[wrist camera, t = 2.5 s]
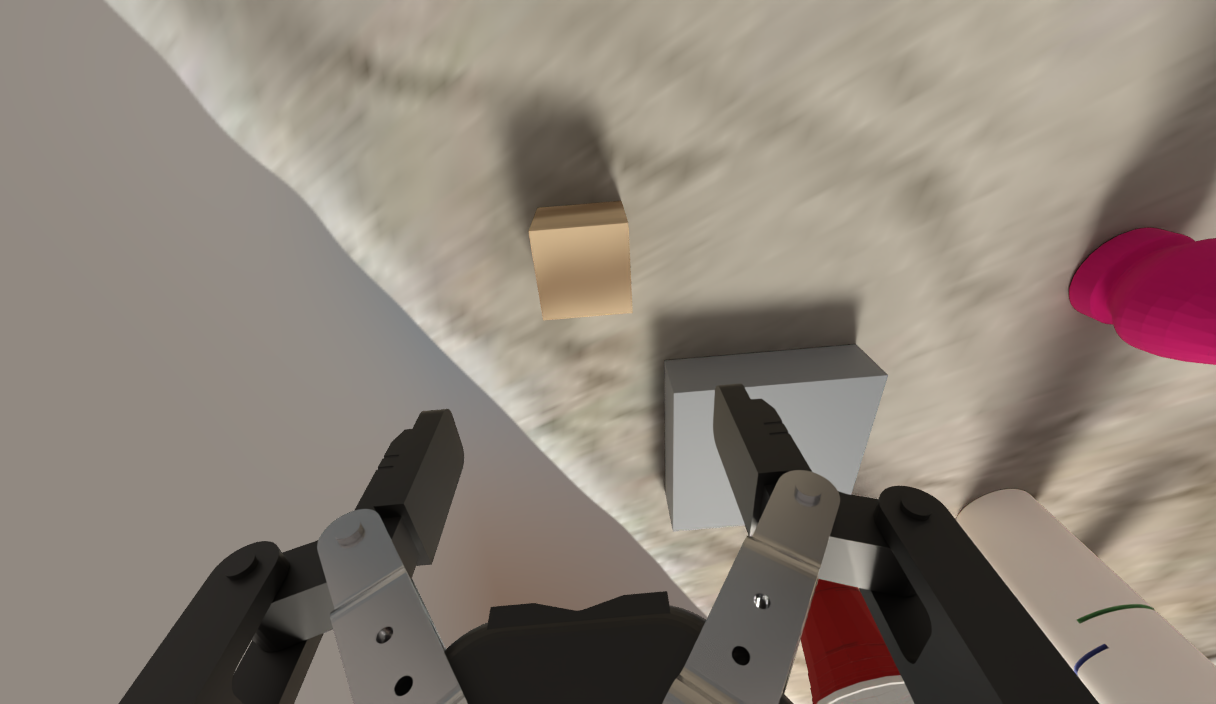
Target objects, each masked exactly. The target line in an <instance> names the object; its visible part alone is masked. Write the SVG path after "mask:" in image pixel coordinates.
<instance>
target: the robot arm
mask: <svg viewBox="0 0 1216 704" xmlns="http://www.w3.org/2000/svg"><path fill="white" fill-rule="evenodd" d="M713 434H714V440H715V444H716V447H717V450H718V453H719V456H720V458H721V461H722V464H723V466H724V469H725V472H726V475H727V477H728V480H729V483H730V486H731V488H732V491H733V494H734V496H735V499H736V502H737V505H738V507H739V510H740V513H741V516H742V518H743V521H744V524H745V526H746V529H747V532H748V535H749V536H747V537H746V539H745V540H744V542H743V544H742V546H741V548H740V550H739V553H738V555H737V557H736V559H735V561H734V563H733V565H732V567H731V569H730V571H729V574H728V576H727V578H726V580H725V582H724V584H723V586H722V588H721V590H720V593H719V595H718V597H717V599H716V601H715V603H714V605H713V607H712V609H711V611H710V614H709V616H708V618H707V620H706V619H704V618H702V617H701V616H699V615H697V614H695V613H693V612H690V611H688V610H685V609H682V608H679V607H674V606H670V605H669V601H668V595H667V592H666V591H665V592H654V593H643V594H633V595H632V594H631V595H623V596H620V597H617V598H615V599H612V600H609V601H606V602H603V603H601V604H598V605H595V606H593V607H590V608H587V609H584V610H580V611H574V610H568V609H563V608H557V607H552V606H546V605H541V604H536V603H531V604H520V605H508V606H497V607H491V609H490V615H489V620H488V623H485V624H483V625H481V626H479V627H477V628H475V629H473V630H471V631H469V632H468V633H466V634H465V635H463V636H462V637H460V638H459V639H458V640H456V641H455V642H454V643H453V644H451V646H449V647H448V648H447V649H446V648H445V646H444V644H443V642H442V640H441V638H440V636H439V634H438V632H437V630H436V627H435V626H434V623H433V621H432V620H431V617H430V615H429V613H428V611H427V609H426V607H425V605H424V602H423V601H422V598H421V596H420V594H419V592H418V590H417V588H416V586H415V584H414V582H413V580H412V575H413V573H414V570H415V567H416V566H419V565H430V564H432V562H433V559H434V556H435V552H436V550H437V547H438V544H439V540H440V537H441V534H442V531H443V528H444V525H445V522H446V519H447V515H448V512H449V509H450V506H451V503H452V499H453V497H454V494H455V490H456V487H457V484H458V481H459V478H460V475H461V471H462V469H463V464H464V451H463V446H462V443H461V440H460V437H459V434H458V431H457V428H456V425H455V422H454V419H453V416H452V413H451V411H450V410H449V409H442V410H431V411H422V412H421V413H420V415H419V417H418V419H417V421H416V423H415V425H414V427H413V429H407V430H404V431H403V432H402V433H401V434H400V435H399V436H398V437H397V438H396V439H395V440H393V441H392V443H391V444H390V446H389V448H388V450H387V452H386V453H385V455H384V459H382V461H381V463H380V464H379V466H378V470H376V472H375V474H374V475H373V477H372V479H371V481H370V483H369V485H368V486H367V488H366V490H365V492H364V494H363V496H362V498H361V499H360V501H359V503H358V505H357V507H356V509H355V510H354V511H352V512H349V513H347V514H345V515H343V516H341V517H339V518H338V519H336V520H335V521H333V522H332V523H331V524H330V525H329V526H328V527H327V528H326V529H325V530H324V532H323V533H322V534H321V536H320V538H319V540H317V541H315V542H312V543H309V544H306V545H303V546H300V547H297V548H295V549H292V550H289V551H286V552H283V553H282V552H281V551H280V549H279V548H278V547H277V545H276V544H274V543H273V542H268V541H262V542H256V543H253V544H250V545H247V546H245V547H243V548H241V549H239V550H237V551H235V552H234V553H232V554H231V555H229V556H228V557H227V558H225V559H224V560H223V561H222V562H221V563H220V564H219V565H218V566H217V567H216V568H215V569H214V570H213V571H212V573H211V574H210V576H209V577H208V578H207V580H206V581H205V582H204V584H203V585H202V587H201V588H200V590H199V591H198V592H197V594H196V595H195V597H194V598H193V599H192V601H191V602H190V604H189V605H188V607H187V608H186V609H185V611H184V612H183V614H182V615H181V616H180V618H179V619H178V621H177V622H176V623H175V625H174V626H173V628H172V629H171V630H170V632H169V633H168V635H167V636H166V638H165V639H164V640H163V642H162V643H161V645H160V646H159V647H158V649H157V650H156V652H155V653H154V654H153V656H152V657H151V659H150V660H149V662H148V663H147V664H146V666H145V667H144V669H143V670H142V671H141V673H140V674H139V676H138V677H137V679H136V680H135V681H134V683H133V684H132V686H131V687H130V688H129V690H128V691H127V693H126V694H125V696H124V697H123V698H122V700H121V701H120V703H119V704H294V702H295V700H296V697H297V695H298V692H299V690H300V688H301V685H302V683H303V681H304V678H305V676H306V674H307V671H308V669H309V667H310V664H311V662H312V659H313V657H314V655H315V652H316V650H317V648H318V645H319V643H320V640H321V638H322V636H323V633H325V632H327V631H330V630H332V629H333V631H334V634H335V638H336V641H337V645H338V649H339V652H340V656H341V660H342V663H343V667H344V670H345V674H346V678H347V681H348V684H349V688H350V692H351V695H352V699H353V703H354V704H793V703H792V702H791V701H790V700H789V699H788V698H787V697H786V696H785V695H784V693H785V690H786V687H787V683H788V680H789V677H790V673H791V670H792V666H793V663H794V660H795V656H796V653H797V649H798V646H799V642H800V639H801V636H802V632H803V629H804V626H805V622H806V619H807V616H808V612H809V609H810V606H811V602H812V599H813V596H814V592H815V589H816V586H817V582H818V579H822V580H827V581H831V582H836V583H840V584H845V585H849V586H854V587H858V588H859V590H860V592H861V594H862V596H863V598H864V600H865V602H866V604H867V606H868V608H869V610H870V613H871V615H872V617H873V619H874V621H875V623H876V625H877V627H878V629H879V631H880V633H881V635H882V637H883V639H884V642H885V644H886V646H887V648H888V650H889V652H890V654H891V656H892V658H893V660H894V662H895V664H896V666H897V669H898V671H899V673H900V675H901V677H902V679H903V681H904V683H905V685H906V687H907V689H908V691H909V693H910V695H911V698H912V700H913V702H914V704H1099V703H1098V701H1097V700H1096V699H1095V698H1094V696H1093V695H1092V694H1091V693H1090V691H1089V690H1088V689H1087V687H1086V686H1085V685H1084V684H1083V682H1082V681H1081V680H1080V678H1079V677H1078V676H1077V675H1076V673H1075V672H1074V671H1073V669H1072V668H1071V667H1070V666H1069V664H1068V663H1067V662H1066V661H1065V659H1064V658H1063V657H1062V655H1061V654H1060V653H1059V652H1058V650H1057V649H1056V648H1055V646H1054V645H1053V644H1052V643H1051V641H1050V640H1049V639H1048V637H1047V636H1046V635H1045V634H1044V632H1043V631H1042V630H1041V628H1040V627H1039V626H1038V625H1037V623H1036V622H1035V621H1034V620H1033V618H1032V617H1031V616H1030V614H1029V613H1028V612H1027V611H1026V609H1025V608H1024V607H1023V605H1022V604H1021V603H1020V602H1019V600H1018V599H1017V598H1016V596H1015V595H1014V594H1013V593H1012V591H1011V590H1010V589H1009V587H1008V586H1007V585H1006V584H1005V582H1004V581H1003V580H1002V579H1001V577H1000V576H999V575H998V573H997V572H996V571H995V570H994V568H993V567H992V566H991V564H990V563H989V562H988V561H987V559H986V558H985V557H984V555H983V554H982V553H981V552H980V550H979V549H978V548H977V546H976V545H975V544H974V543H973V541H972V540H971V539H970V538H969V536H968V535H967V534H966V532H965V531H964V530H963V529H962V527H961V526H960V525H959V523H958V522H957V521H956V520H955V518H954V517H953V516H952V514H951V513H950V512H949V511H948V509H947V508H946V507H945V506H944V505H943V504H942V503H941V502H940V501H939V500H937V499H936V498H935V497H933V496H931V495H930V494H928V493H926V492H924V491H922V490H919V489H916V488H912V487H907V486H892V487H889V488H887V489H885V490H884V491H883V492H882V493H881V494H880V497H879V499H873V498H867V497H861V496H855V495H850V494H845V493H842V492H839V491H837V489H836V487H835V486H834V485H833V484H832V483H831V482H830V481H829V480H827V479H826V478H825V477H823V476H821V475H819V474H816V473H814V472H812V470H811V469H810V467H809V465H808V464H807V462H806V460H805V459H804V457H803V455H802V454H801V452H800V450H799V448H798V447H797V445H796V443H795V442H794V440H793V438H792V437H791V435H790V434H789V433H788V430H787V428H786V427H785V425H784V424H783V423H782V420H781V418H780V416H779V415H778V413H777V411H776V410H775V408H773V407H772V406H771V405H769V404H768V403H767V402H765V401H764V400H763V399H762V398H761V399H750V397H749V395H748V393H747V391H746V389H745V387H744V386H743V384H741V383H740V384H728V385H717V386H716V388H715V397H714V414H713ZM251 640H252V642H251ZM250 642H251V644H250ZM249 644H250V646H249V648H248V650H247V651H246V649H247V647H248V645H249ZM245 651H246V653H245ZM244 653H245V655H244V657H243V659H242V660H241V658H242V656H243V654H244ZM240 660H241V662H240ZM239 662H240V664H239ZM238 664H239V666H238V668H237V670H236V671H235V669H236V667H237V665H238ZM234 672H235V673H234Z"/></svg>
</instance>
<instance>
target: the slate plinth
mask: <svg viewBox="0 0 1216 704" xmlns="http://www.w3.org/2000/svg"><path fill="white" fill-rule="evenodd" d="M664 369H665V493H666V498H667V504H668V509H669V514H670V519H671V524H672V529H673V531H684V530H696V529H708V528H720V527H732V526H743V525H745V524H744V521H743V518H742V516H741V513H740V510H739V507H738V505H737V502H736V499H735V496H734V494H733V491H732V488H731V486H730V483H729V480H728V477H727V475H726V472H725V469H724V466H723V464H722V461H721V458H720V456H719V453H718V450H717V447H716V444H715V440H714V434H713V414H714V397H715V388H716V386H717V385H728V384H740V383H741V384H743V386H744V387H745V389H746V391H747V393H748V395H749V397H750V399H761V398H762V399H763V400H764V401H765V402H767V403H768V404H769V405H771V406H772V407H773V408H775V410H776V411H777V413H778V415H779V416H780V418H781V420H782V423H783V424H784V425H785V427H786V428H787V430H788V433H789V434H790V435H791V437H792V438H793V440H794V442H795V443H796V445H797V447H798V448H799V450H800V452H801V454H802V455H803V457H804V459H805V460H806V462H807V464H808V465H809V467H810V469H811V470H812V472H814V473H816V474H819V475H821V476H823V477H825V478H826V479H827V480H829V481H830V482H831V483H832V484H833V485H834V486H835V487H836V489H837V491H839V492H842V493H845V494H850V495H851V494H852V490H853V487H854V484H855V481H856V477H857V474H858V471H859V468H860V464H861V461H862V458H863V455H864V452H865V448H866V445H867V442H868V439H869V435H870V432H871V429H872V426H873V422H874V419H875V416H876V413H877V410H878V406H879V403H880V400H881V397H882V393H883V390H884V387H885V384H886V381H887V377H888V375H887V374H886V373H885V372H884V371H883V370H882V369H881V368H880V367H879V366H878V365H877V364H876V363H875V362H874V361H873V360H872V359H871V358H870V357H869V356H868V355H867V354H866V353H865V352H864V351H863V350H861V349H860V348H859V347H858V346H857V345H856V344H854V345H842V346H830V347H819V348H807V349H795V350H783V351H771V352H759V353H748V354H736V355H724V356H712V357H700V358H689V359H677V360H665V361H664Z"/></svg>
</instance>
